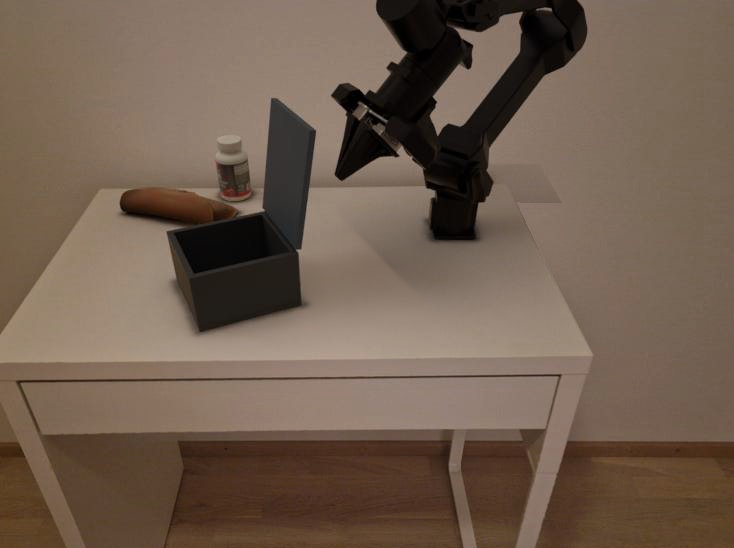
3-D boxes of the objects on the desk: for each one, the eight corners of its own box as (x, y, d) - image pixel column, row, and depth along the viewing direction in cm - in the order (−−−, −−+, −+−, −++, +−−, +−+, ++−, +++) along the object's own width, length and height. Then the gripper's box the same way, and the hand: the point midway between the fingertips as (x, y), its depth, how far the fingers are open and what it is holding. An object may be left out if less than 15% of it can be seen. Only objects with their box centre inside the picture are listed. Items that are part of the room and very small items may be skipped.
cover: (309, 130, 64) (316, 130, 64) (270, 97, 72) (277, 98, 73) (295, 249, 72) (301, 249, 72) (262, 207, 81) (267, 207, 81)
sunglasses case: (241, 207, 98) (227, 182, 92) (226, 243, 96) (210, 220, 90) (150, 191, 103) (130, 167, 97) (134, 226, 101) (113, 203, 95)
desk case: (199, 332, 73) (188, 278, 68) (177, 281, 82) (166, 231, 77) (301, 305, 77) (298, 253, 72) (269, 260, 86) (265, 210, 81)
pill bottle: (214, 196, 103) (205, 139, 96) (237, 186, 106) (230, 130, 100) (235, 205, 100) (227, 147, 94) (258, 194, 103) (252, 137, 97)
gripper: (497, 139, 71) (410, 241, 74) (417, 96, 84) (346, 185, 87) (448, 77, 63) (354, 193, 67) (369, 40, 76) (294, 140, 80)
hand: (337, 178), depth 75 cm, fingers closed
